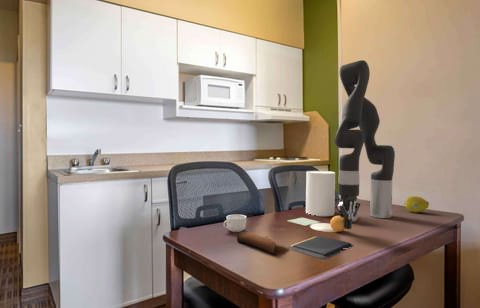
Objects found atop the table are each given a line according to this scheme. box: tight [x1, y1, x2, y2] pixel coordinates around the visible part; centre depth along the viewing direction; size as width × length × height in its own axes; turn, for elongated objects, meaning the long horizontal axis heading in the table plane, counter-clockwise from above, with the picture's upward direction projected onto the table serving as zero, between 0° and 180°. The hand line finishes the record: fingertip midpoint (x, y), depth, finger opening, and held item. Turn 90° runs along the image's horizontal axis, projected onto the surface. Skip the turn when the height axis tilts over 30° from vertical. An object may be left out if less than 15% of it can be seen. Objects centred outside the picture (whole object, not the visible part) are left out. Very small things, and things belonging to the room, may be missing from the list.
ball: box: [329, 215, 345, 233], centre depth 126 cm, size 6×6×6 cm
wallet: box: [286, 235, 354, 260], centre depth 107 cm, size 20×2×15 cm
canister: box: [305, 170, 336, 217], centre depth 158 cm, size 14×14×20 cm
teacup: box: [222, 214, 247, 233], centre depth 125 cm, size 10×8×5 cm
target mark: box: [309, 222, 339, 233], centre depth 131 cm, size 13×13×1 cm
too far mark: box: [287, 217, 321, 227], centre depth 141 cm, size 10×10×1 cm
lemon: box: [404, 195, 430, 214], centre depth 162 cm, size 11×8×8 cm
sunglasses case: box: [236, 231, 290, 256], centre depth 107 cm, size 18×7×7 cm
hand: (347, 228), depth 123 cm, fingers closed
